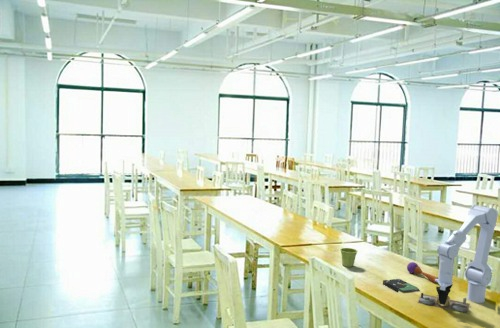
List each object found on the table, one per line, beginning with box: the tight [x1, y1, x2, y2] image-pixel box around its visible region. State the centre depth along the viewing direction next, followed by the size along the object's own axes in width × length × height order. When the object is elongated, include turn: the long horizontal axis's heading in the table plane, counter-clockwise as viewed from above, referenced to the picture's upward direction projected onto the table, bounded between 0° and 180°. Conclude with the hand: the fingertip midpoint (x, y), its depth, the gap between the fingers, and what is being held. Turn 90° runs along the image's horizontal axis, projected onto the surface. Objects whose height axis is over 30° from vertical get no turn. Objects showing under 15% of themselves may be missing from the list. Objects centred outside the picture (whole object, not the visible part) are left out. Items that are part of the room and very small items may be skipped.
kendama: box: [406, 261, 439, 285], centre depth 244 cm, size 6×6×20 cm
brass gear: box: [435, 294, 452, 306], centre depth 203 cm, size 6×6×3 cm
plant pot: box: [340, 247, 358, 268], centre depth 258 cm, size 9×9×9 cm
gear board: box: [417, 292, 470, 314], centre depth 205 cm, size 13×20×5 cm, turn 61°
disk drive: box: [382, 278, 421, 293], centre depth 225 cm, size 10×3×15 cm
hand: (443, 301), depth 203 cm, fingers open, 6 cm apart
